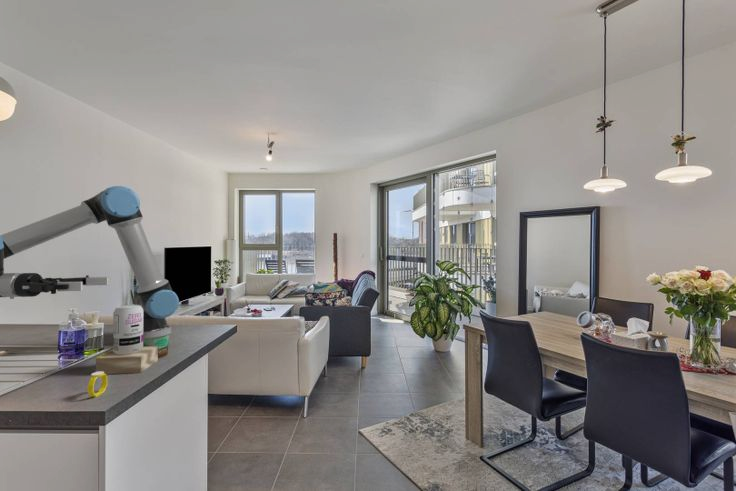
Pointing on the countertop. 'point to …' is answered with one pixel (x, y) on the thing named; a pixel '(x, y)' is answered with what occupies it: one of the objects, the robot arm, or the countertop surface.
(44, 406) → the countertop surface
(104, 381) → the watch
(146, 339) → the food container
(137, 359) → the loading dock
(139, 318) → the supplement can
